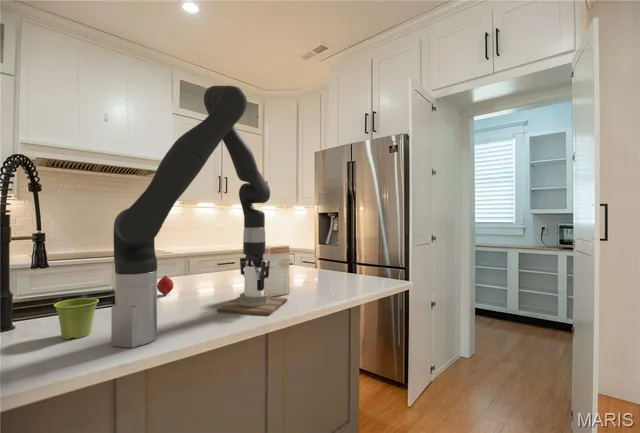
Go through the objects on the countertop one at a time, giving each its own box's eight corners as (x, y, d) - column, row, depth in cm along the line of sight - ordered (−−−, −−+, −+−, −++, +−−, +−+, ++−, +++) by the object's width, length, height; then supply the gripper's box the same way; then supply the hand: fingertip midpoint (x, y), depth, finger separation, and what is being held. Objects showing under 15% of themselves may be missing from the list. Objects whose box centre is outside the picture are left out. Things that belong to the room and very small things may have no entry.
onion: (153, 296, 129) (153, 275, 129) (164, 293, 135) (164, 273, 135) (166, 297, 127) (166, 276, 128) (176, 294, 133) (176, 274, 133)
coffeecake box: (281, 290, 139) (281, 244, 139) (290, 294, 133) (290, 245, 133) (247, 295, 130) (247, 246, 130) (255, 299, 124) (255, 247, 124)
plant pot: (83, 327, 93) (83, 296, 93) (106, 331, 89) (106, 299, 89) (45, 339, 84) (45, 304, 84) (69, 344, 81) (69, 308, 81)
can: (254, 296, 119) (254, 263, 119) (267, 299, 115) (267, 264, 115) (240, 300, 114) (240, 265, 114) (253, 303, 110) (253, 267, 110)
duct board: (269, 315, 104) (269, 302, 104) (217, 312, 108) (217, 299, 108) (287, 301, 122) (287, 289, 122) (241, 298, 125) (241, 287, 125)
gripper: (276, 241, 113) (276, 290, 113) (250, 239, 122) (250, 284, 122) (258, 242, 107) (258, 294, 107) (233, 240, 117) (233, 287, 117)
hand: (254, 288), depth 115 cm, fingers closed on can, 6 cm apart
